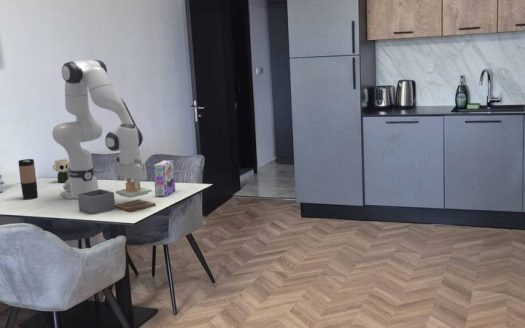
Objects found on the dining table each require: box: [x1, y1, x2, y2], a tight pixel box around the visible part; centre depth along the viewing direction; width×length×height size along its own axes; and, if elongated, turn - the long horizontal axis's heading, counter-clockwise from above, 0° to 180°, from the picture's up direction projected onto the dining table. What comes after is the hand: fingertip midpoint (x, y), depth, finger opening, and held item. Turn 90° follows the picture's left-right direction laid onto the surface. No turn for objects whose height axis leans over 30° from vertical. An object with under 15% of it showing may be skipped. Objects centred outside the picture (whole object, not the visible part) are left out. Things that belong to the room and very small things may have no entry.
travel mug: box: [17, 158, 39, 200], centre depth 296 cm, size 8×8×20 cm
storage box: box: [77, 189, 116, 216], centre depth 266 cm, size 12×12×8 cm
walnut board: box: [115, 198, 157, 213], centre depth 270 cm, size 14×14×1 cm
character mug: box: [52, 158, 70, 183], centre depth 334 cm, size 11×7×13 cm, turn 137°
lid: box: [115, 180, 153, 199], centre depth 268 cm, size 12×12×6 cm
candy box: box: [153, 160, 176, 198], centre depth 293 cm, size 14×6×16 cm, turn 168°
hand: (133, 187), depth 268 cm, fingers closed on lid, 3 cm apart
